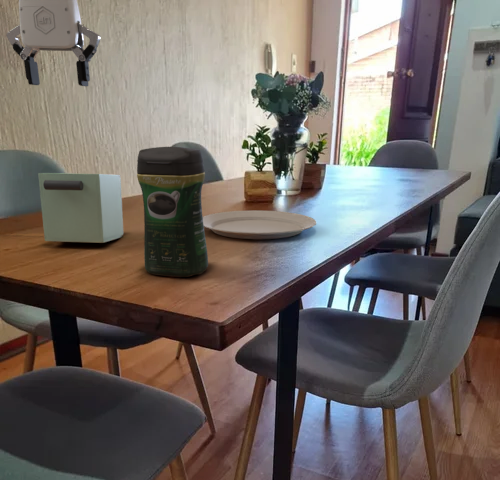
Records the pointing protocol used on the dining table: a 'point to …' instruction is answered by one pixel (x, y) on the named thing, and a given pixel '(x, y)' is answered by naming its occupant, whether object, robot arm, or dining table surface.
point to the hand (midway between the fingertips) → (58, 85)
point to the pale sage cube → (81, 207)
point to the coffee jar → (173, 211)
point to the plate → (257, 224)
